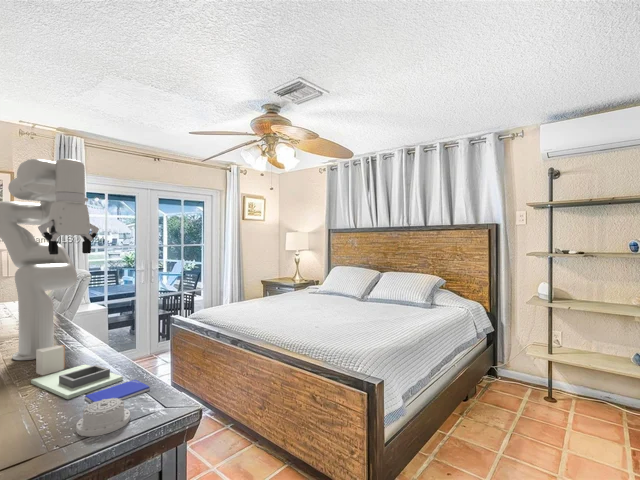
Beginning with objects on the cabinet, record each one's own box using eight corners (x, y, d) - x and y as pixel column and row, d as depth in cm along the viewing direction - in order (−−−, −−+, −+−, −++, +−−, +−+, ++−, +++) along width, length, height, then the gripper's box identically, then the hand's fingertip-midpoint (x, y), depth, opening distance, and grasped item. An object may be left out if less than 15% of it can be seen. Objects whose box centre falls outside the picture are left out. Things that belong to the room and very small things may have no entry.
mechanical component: (63, 435, 72) (105, 440, 70) (63, 413, 72) (105, 418, 70) (103, 411, 81) (140, 416, 79) (103, 392, 81) (140, 396, 79)
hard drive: (134, 378, 98) (84, 394, 88) (149, 386, 93) (98, 403, 83) (134, 384, 98) (84, 401, 88) (149, 391, 93) (98, 410, 83)
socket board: (31, 383, 97) (31, 372, 97) (85, 367, 109) (85, 357, 109) (67, 399, 87) (67, 387, 87) (122, 379, 99) (122, 369, 99)
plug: (36, 373, 105) (36, 349, 105) (60, 366, 110) (60, 344, 110) (42, 375, 103) (42, 351, 103) (67, 368, 108) (67, 346, 108)
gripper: (90, 202, 119) (90, 252, 119) (31, 197, 103) (31, 254, 103) (105, 201, 116) (105, 253, 116) (46, 195, 100) (46, 255, 100)
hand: (70, 253), depth 109 cm, fingers open, 9 cm apart
